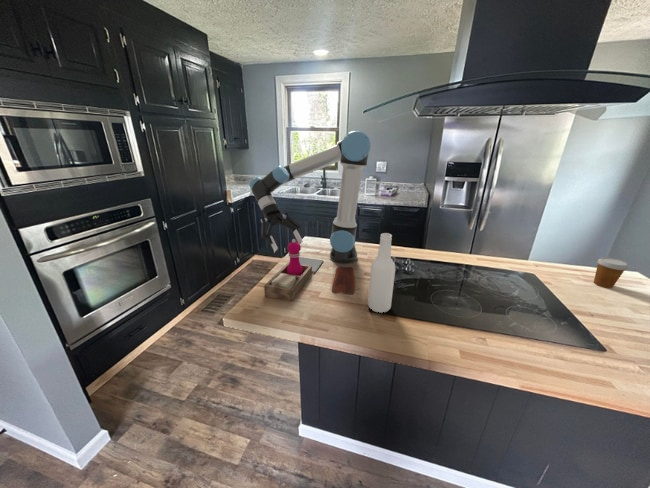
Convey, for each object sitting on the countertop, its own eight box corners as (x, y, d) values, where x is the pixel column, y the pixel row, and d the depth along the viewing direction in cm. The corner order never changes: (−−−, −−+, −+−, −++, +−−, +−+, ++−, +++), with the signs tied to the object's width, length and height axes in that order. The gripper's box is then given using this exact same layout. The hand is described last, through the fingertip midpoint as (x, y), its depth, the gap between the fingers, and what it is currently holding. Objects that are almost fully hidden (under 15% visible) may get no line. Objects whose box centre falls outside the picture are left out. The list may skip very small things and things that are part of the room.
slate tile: (323, 261, 142) (323, 260, 141) (315, 273, 129) (315, 271, 129) (299, 258, 145) (299, 256, 145) (288, 269, 133) (288, 267, 132)
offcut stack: (298, 288, 116) (298, 275, 114) (290, 298, 108) (289, 285, 106) (280, 284, 118) (279, 273, 116) (270, 295, 110) (270, 282, 108)
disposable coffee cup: (596, 288, 119) (607, 264, 114) (584, 278, 127) (593, 255, 123) (623, 291, 116) (635, 267, 112) (608, 281, 124) (619, 258, 120)
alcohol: (363, 305, 104) (368, 233, 93) (377, 298, 109) (384, 229, 98) (380, 316, 98) (388, 240, 87) (395, 307, 103) (404, 235, 92)
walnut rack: (311, 275, 127) (311, 265, 125) (292, 301, 106) (292, 290, 104) (288, 271, 131) (287, 262, 129) (265, 296, 109) (264, 285, 108)
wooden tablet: (354, 296, 111) (354, 292, 111) (331, 294, 113) (331, 291, 112) (355, 268, 136) (355, 265, 135) (336, 267, 137) (336, 264, 137)
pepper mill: (292, 284, 119) (290, 243, 111) (284, 278, 124) (282, 238, 117) (305, 280, 123) (305, 239, 115) (297, 274, 128) (296, 235, 121)
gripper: (287, 208, 134) (306, 243, 130) (242, 216, 119) (262, 257, 114) (293, 199, 129) (313, 236, 124) (246, 207, 113) (267, 249, 108)
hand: (289, 246), depth 119 cm, fingers open, 13 cm apart
